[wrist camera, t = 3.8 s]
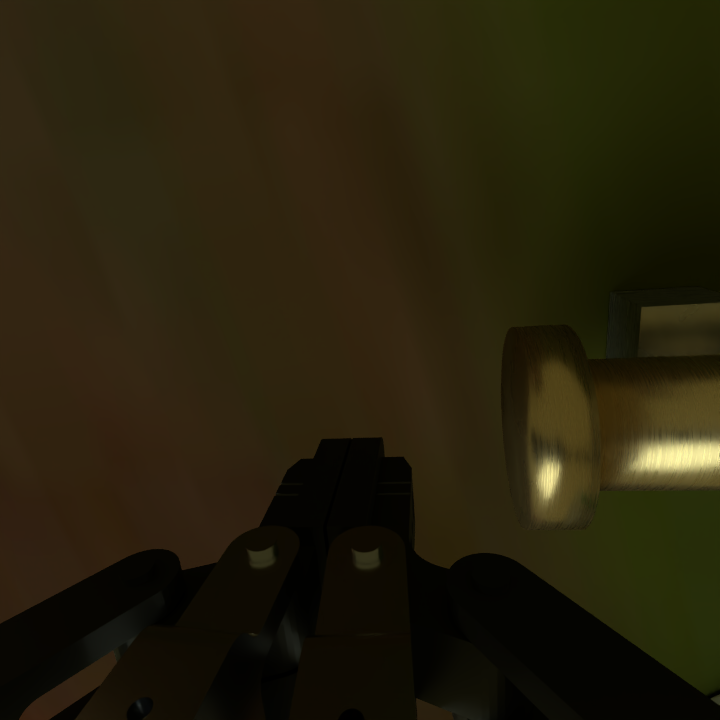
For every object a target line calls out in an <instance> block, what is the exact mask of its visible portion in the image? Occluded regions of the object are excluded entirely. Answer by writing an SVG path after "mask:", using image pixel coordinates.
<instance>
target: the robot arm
mask: <svg viewBox="0 0 720 720" xmlns="http://www.w3.org/2000/svg"><path fill="white" fill-rule="evenodd" d="M414 537H415V514H414V499H413V483H412V468H411V467H410V465H409V464H408V463H407V461H406V460H405V458H404V457H385V455H384V444H383V439H382V437H379V438H353V439H351V438H343V439H322V440H321V442H320V444H319V447H318V449H317V451H316V454H315V456H314V458H313V459H301V460H299V461H298V462H297V463H296V464H294V465H293V466H292V467H291V468H289V469H288V470H287V472H286V474H285V476H284V478H283V480H282V482H281V485H280V486H279V488H278V490H277V492H276V496H274V498H273V500H272V502H271V504H270V506H269V508H268V510H267V512H266V514H265V516H264V518H263V520H262V522H261V524H260V526H259V527H258V528H255V529H252V530H249V531H247V532H245V533H243V534H241V535H240V536H238V537H237V538H236V539H235V540H233V541H232V542H231V544H230V545H229V546H228V547H227V549H226V550H225V552H224V553H223V555H222V556H221V558H220V559H219V561H218V562H216V563H213V564H209V565H204V566H200V567H195V568H191V569H186V570H182V569H181V565H180V561H179V558H178V557H177V555H176V554H175V553H173V552H171V551H169V550H164V549H152V550H146V551H142V552H139V553H136V554H133V555H131V556H128V557H126V558H124V559H122V560H120V561H119V562H117V563H115V564H113V565H111V566H109V567H107V568H105V569H103V570H101V571H100V572H98V573H96V574H94V575H92V576H90V577H88V578H86V579H84V580H82V581H81V582H79V583H77V584H75V585H73V586H71V587H69V588H67V589H65V590H63V591H62V592H60V593H58V594H56V595H54V596H52V597H50V598H48V599H46V600H44V601H43V602H41V603H39V604H37V605H35V606H33V607H31V608H29V609H27V610H26V611H24V612H22V613H20V614H18V615H16V616H14V617H12V618H10V619H8V620H7V621H5V622H3V623H1V624H0V720H19V718H20V716H21V715H22V713H23V712H24V710H25V709H26V708H27V707H28V706H29V705H30V704H31V703H32V702H33V701H35V700H36V699H37V698H39V697H40V696H42V695H43V694H45V693H47V692H48V691H50V690H51V689H53V688H54V687H56V686H58V685H59V684H61V683H62V682H64V681H65V680H67V679H68V678H70V677H72V676H73V675H75V674H76V673H78V672H79V671H81V670H83V669H84V668H86V667H87V666H89V665H90V664H92V663H94V662H95V661H97V660H98V659H100V658H101V657H103V656H105V655H106V654H108V653H109V652H111V651H112V650H113V651H114V654H115V657H116V661H117V664H116V665H115V666H114V668H113V669H112V670H111V672H110V673H109V674H108V676H107V677H106V678H105V680H104V681H103V682H102V684H101V685H100V686H99V687H97V688H96V689H94V690H93V691H91V692H90V693H88V694H87V695H85V696H84V697H82V698H81V699H79V700H78V701H76V702H75V703H73V704H72V705H70V706H69V707H67V708H66V709H64V710H63V711H61V712H60V713H58V714H57V715H55V716H54V717H52V718H51V719H50V720H417V707H416V698H418V699H420V700H423V701H425V702H428V703H430V704H433V705H435V706H438V707H440V708H443V709H445V710H448V711H450V712H452V715H453V718H454V720H720V705H718V704H717V703H715V702H714V701H713V700H711V699H710V698H708V697H707V696H706V695H704V694H703V693H701V692H700V691H699V690H697V689H696V688H694V687H693V686H692V685H690V684H689V683H687V682H686V681H684V680H683V679H682V678H680V677H679V676H677V675H676V674H675V673H673V672H672V671H670V670H669V669H668V668H666V667H665V666H663V665H662V664H661V663H659V662H658V661H656V660H655V659H654V658H652V657H651V656H649V655H648V654H647V653H645V652H644V651H642V650H641V649H639V648H638V647H637V646H635V645H634V644H632V643H631V642H630V641H628V640H627V639H625V638H624V637H623V636H621V635H620V634H618V633H617V632H616V631H614V630H613V629H611V628H610V627H609V626H607V625H606V624H604V623H603V622H601V621H600V620H599V619H597V618H596V617H594V616H593V615H592V614H590V613H589V612H587V611H586V610H585V609H583V608H582V607H580V606H579V605H578V604H576V603H575V602H573V601H572V600H571V599H569V598H568V597H566V596H565V595H564V594H562V593H561V592H559V591H558V590H556V589H555V588H554V587H552V586H551V585H549V584H548V583H547V582H545V581H544V580H542V579H541V578H540V577H538V576H537V575H535V574H534V573H533V572H531V571H530V570H528V569H527V568H526V567H524V566H523V565H521V564H520V563H518V562H517V561H515V560H513V559H511V558H508V557H505V556H502V555H498V554H492V553H478V554H472V555H468V556H465V557H463V558H461V559H459V560H458V561H456V562H455V563H454V564H453V565H452V566H451V568H450V569H447V568H443V567H440V566H437V565H434V564H431V563H429V562H427V561H426V560H424V559H422V558H421V557H420V556H419V555H417V554H416V552H415V551H414V544H415V538H414Z"/></svg>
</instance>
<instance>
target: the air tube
mask: <svg viewBox="0 0 720 720" xmlns="http://www.w3.org/2000/svg"><path fill="white" fill-rule="evenodd" d="M501 410H502V429H503V441H504V452H505V460H506V468H507V475H508V481H509V487H510V492H511V497H512V502H513V506H514V509H515V513H516V516H517V519H518V521H519V523H520V525H521V527H522V528H523V529H525V530H584V529H586V528H587V527H588V526H589V525H590V523H591V521H592V519H593V517H594V514H595V511H596V507H597V503H598V497H599V491H632V490H720V354H703V355H679V356H655V357H632V358H608V359H587V356H586V353H585V350H584V348H583V345H582V343H581V341H580V339H579V337H578V336H577V334H576V333H575V331H574V330H573V329H572V328H571V327H570V326H568V325H564V324H563V325H544V326H525V327H511V328H509V330H508V331H507V334H506V337H505V342H504V347H503V356H502V370H501Z"/></svg>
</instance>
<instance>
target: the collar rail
mask: <svg viewBox="0 0 720 720" xmlns="http://www.w3.org/2000/svg"><path fill="white" fill-rule="evenodd" d="M703 354H720V293H718V292H714V291H711V290H708V289H705V288H701V287H682V288H666V289H649V290H633V291H617V292H610V304H609V319H608V335H607V350H606V359H608V358H632V357H655V356H679V355H703Z"/></svg>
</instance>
